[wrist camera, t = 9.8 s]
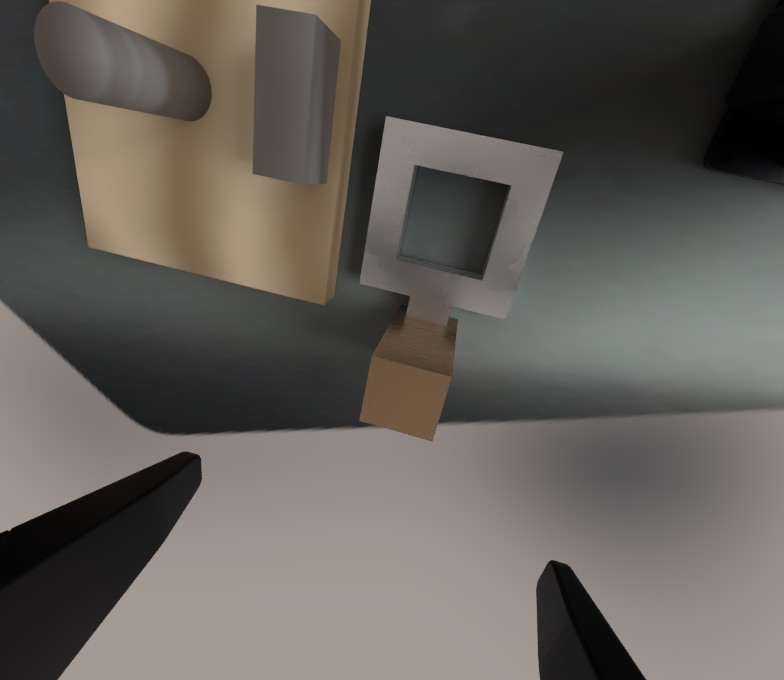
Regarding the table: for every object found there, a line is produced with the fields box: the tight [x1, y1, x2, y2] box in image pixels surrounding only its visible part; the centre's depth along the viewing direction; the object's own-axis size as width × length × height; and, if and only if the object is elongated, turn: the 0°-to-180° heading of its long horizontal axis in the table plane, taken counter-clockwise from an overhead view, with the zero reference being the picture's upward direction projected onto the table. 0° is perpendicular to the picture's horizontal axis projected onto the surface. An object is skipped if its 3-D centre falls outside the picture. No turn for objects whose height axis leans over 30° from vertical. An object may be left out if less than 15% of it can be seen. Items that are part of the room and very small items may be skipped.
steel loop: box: [359, 116, 563, 441], centre depth 15 cm, size 7×11×6 cm, turn 169°
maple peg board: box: [34, 0, 371, 305], centre depth 15 cm, size 13×13×6 cm
